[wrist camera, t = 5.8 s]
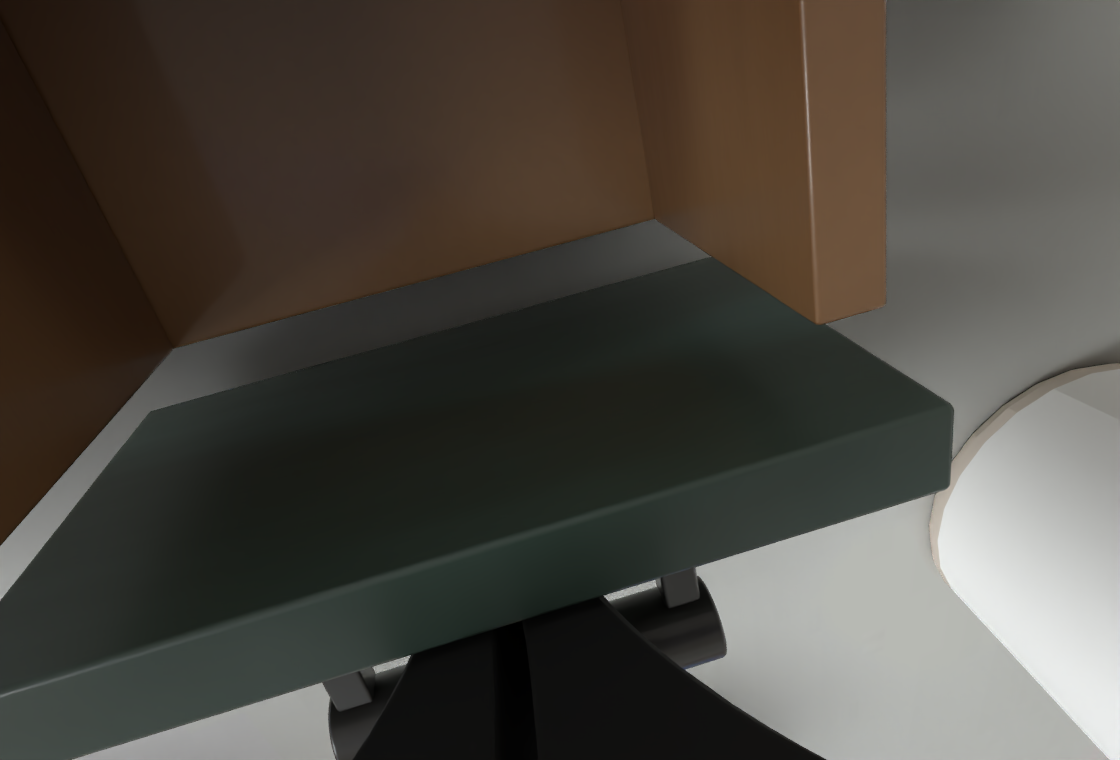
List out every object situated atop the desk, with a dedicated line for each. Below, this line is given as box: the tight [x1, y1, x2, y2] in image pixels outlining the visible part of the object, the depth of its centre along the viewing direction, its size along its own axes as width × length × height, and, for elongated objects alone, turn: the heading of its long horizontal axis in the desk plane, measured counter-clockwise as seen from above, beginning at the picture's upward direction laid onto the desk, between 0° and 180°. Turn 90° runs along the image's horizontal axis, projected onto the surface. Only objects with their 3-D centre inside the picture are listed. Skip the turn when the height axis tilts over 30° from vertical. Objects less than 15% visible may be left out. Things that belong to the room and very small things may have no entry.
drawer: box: [0, 0, 954, 760], centre depth 9 cm, size 17×11×7 cm
